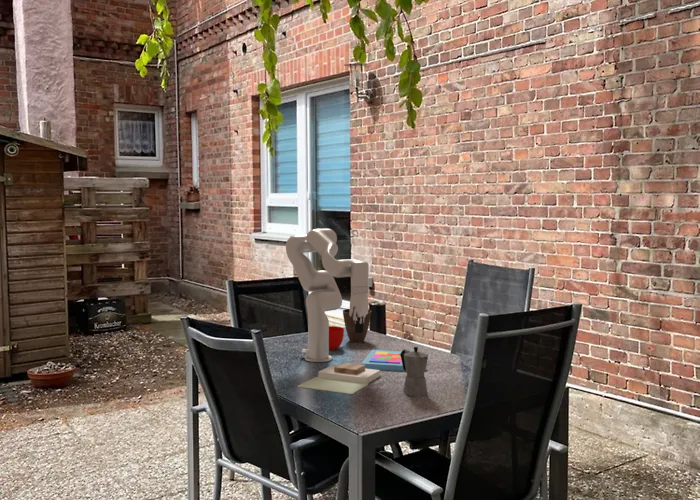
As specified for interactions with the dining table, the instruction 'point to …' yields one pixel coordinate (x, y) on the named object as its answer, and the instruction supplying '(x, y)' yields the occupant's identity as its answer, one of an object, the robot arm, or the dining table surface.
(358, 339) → the plant pot
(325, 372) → the board
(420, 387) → the coffeepot
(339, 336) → the ceramic cup
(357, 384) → the mat
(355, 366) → the tile
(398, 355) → the tetris game
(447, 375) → the dining table surface
